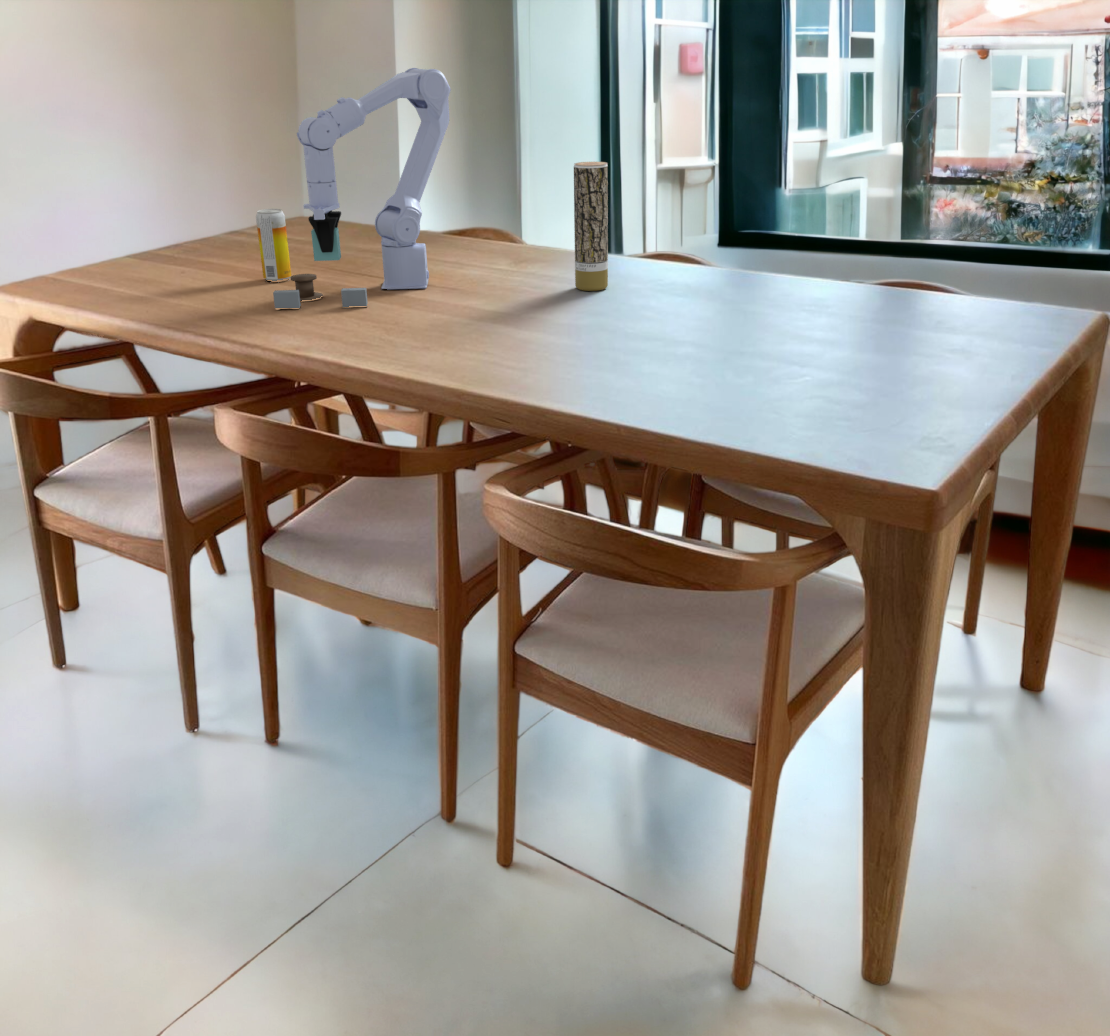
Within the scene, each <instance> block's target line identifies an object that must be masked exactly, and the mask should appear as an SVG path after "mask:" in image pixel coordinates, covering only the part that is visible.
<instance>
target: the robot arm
mask: <svg viewBox="0 0 1110 1036" xmlns="http://www.w3.org/2000/svg"><path fill="white" fill-rule="evenodd" d="M451 91H452V88H451V87H450V85H449V82H448V80H447V78H446V75H445V74H444V73H443V72H442V71H441V70H439V69H435V68H430V69H429V68H427V69H426V68H425V69H423V68H419V67H410V68H407V70H405V71H401V72H400V73H397V74H395V75H394V76H392V77H391V78H389V79H388V80H386V81H385V82H383V83H382V84H380V85H378V86H376V87H375V88H374V89H372V90H370V91H369V92H367V93H366V94H364V95H362V96H360V98H358V99H355V98H353V97H346V98H345V97H343V96H342V97H339V98H338V99H336V102H337V103H335V104H334V105H331V107H328V108H327V109H324V110H323V109H320V110H318V111H317V112H316V113H317V117H313V116H310V117H306V118H305V119H303V120H302V121H301V122H300V124H299V126H298V132H296V136H297V140H298V141H299V142H300V144H301V145H302V147H303V157H304V165H305V166H304V167H305V168H304V169H305V176H306V177H305V178H306V185H307V194H308V195H307V196H308V203H304V204H303V210H305V209H306V210H309V211H312V215H310V216H309V217H308V222H309V224H310V225H311V227H312V229H314V231H315V233H316V236H317V239H318V242H319V245H320V248H321V251H322V253H324V252H333V245H334V229H335V228H339V223H340V218H341V217H342V211H337V210H338V209H339V208H340V205H341V204H340V202H339V197H338V187H337V186H338V185H337V177H336V167H335V156H334V146H335V144H336V143H337V140H339V139H340V138H342V137H344V136H346V135H347V134H349V133H351V132H353V131H355V130H356V129H358V128H359V127H361V126H364V124H365V123H366V122H365V121H366V118H367V116H368V115H369V114H371V113H373V112H375V111H377V110H378V109H381V108H384V107H385V106H387V105H388V104H391V103H393V102H395V101H397V100H398V99H406V100H407V101H408V102H410V104H411V105H412V106H413V107H414V108H415V110H416V112H417V114H418V117H419V119H420V121H421V122H420V124H419V127H418V129H417V132H416V135H415V138H414V140H413V143H412V146H411V148H410V151H409V154H408V157H407V160H406V162H405V165H404V168H403V170H402V173H401V176H400V177H399V181H398V184H397V187H396V188H395V192H394V193H393V195H392V196H391V197H389V198H388V199H387V200H386V202H385V204H384V207H383V208H382V209H381V210H380V211H379V212H378V213H377V215H376V217H375V220H374V228H375V231H376V233H377V234H378V235H379V237H381V241H380V244H381V256H382V257H381V258H382V268H383V269H382V270H383V283H382V285H381V290H382V289H387V290H408V289H409V290H415V289H427V287H428V284H429V280H430V279H429V278H430V272H429V270H428V258H427V257H428V256H427V246H426V243H419V242H417V239H418V238H419V235H420V232H421V224H420V223H421V218H422V216H423V211H422V209H421V205H420V204H421V203H420V202H421V200H422V198H423V194H424V192H425V189H426V186H427V183H428V180H429V178H430V175H431V172H432V170H433V168H434V165H435V162H436V159H437V157H438V154H439V151H440V149H441V145H442V143H443V140H444V137H445V136H446V132H447V129H448V128H449V124H450V104H449V102H450V101H449V97H450V94H451ZM334 210H335V211H334Z"/></svg>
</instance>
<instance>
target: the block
mask: <svg viewBox="0 0 1110 1036" xmlns="http://www.w3.org/2000/svg"><path fill="white" fill-rule="evenodd" d="M310 232H311V242H312V252H313V261H314V262H321V261H322V262H323V261H325V262H327V261H329V262H330V261H340V260H341V258H342V253H341V250H342V249H341V241H340V233H339V227H337V228H335V229H334V245H333V252H324V253H322V251H321V248H320V245H319V242H318V239H317V236H316V233H315V231H314V229H313V228H312V229H311V230H310Z"/></svg>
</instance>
